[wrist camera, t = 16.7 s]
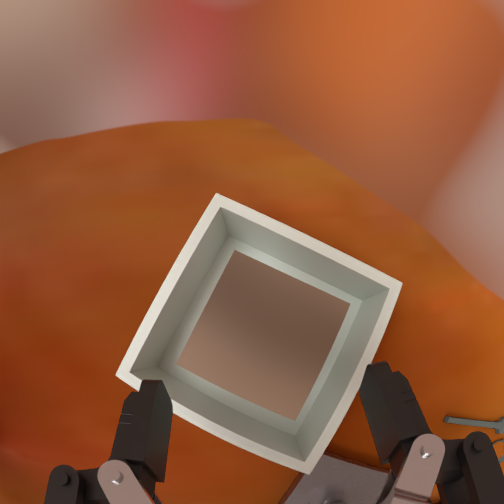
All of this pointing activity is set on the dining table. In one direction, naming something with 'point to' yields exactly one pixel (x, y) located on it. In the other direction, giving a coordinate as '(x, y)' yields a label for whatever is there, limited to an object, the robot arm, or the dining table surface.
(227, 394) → the bin
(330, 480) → the stud plate
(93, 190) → the dining table surface
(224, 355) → the strut
